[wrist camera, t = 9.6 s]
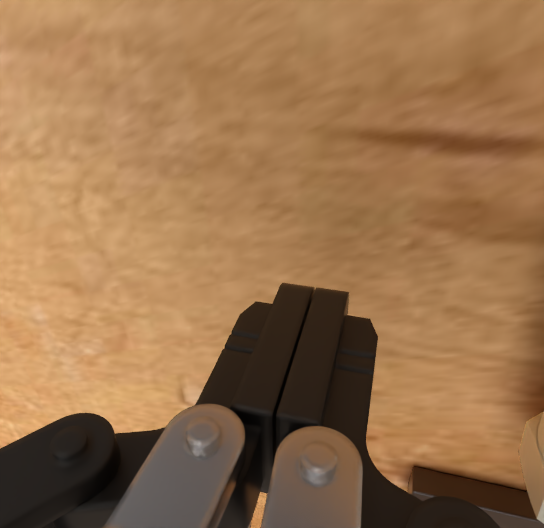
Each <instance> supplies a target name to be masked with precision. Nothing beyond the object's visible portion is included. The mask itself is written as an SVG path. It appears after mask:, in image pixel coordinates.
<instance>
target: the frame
mask: <svg viewBox="0 0 544 528" xmlns="http://www.w3.org/2000/svg"><path fill="white" fill-rule="evenodd" d="M408 493H409V494H411V495H413V496H415V497H417V498H418V499H420V500H422V501H424V500H426V499H429V498H432V497H437V496H451V497H457V498H460V499H463V500H466V501H468V502H470V503H472V504H474V505H476V506H477V507H479V508H480V509H482V510H483V511H485V512H486V513H487V514H488V515H489V516H490V517H491V518H492V519H493V520H494V521H495V522H496V523H497V524H498V525H499V527H500V528H544V524H543V523H542V522H541V521H539V520H538V519H537V518H536V515H535V513H534V510H533V507H532V504H531V502H530V498H529V495H528V492H525V491H520V490H516V489H512V488H507V487H503V486H498V485H494V484H489V483H485V482H480V481H476V480H471V479H467V478H463V477H458V476H454V475H449V474H445V473H440V472H436V471H431V470H427V469H423V468H418V467H413V469H412V472H411V476H410V480H409V483H408Z"/></svg>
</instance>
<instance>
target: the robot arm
mask: <svg viewBox="0 0 544 528" xmlns="http://www.w3.org/2000/svg"><path fill="white" fill-rule="evenodd" d="M348 304H349V292H344V291H337V290H330V289H323V288H316V289H315V288H314V287H308V286H302V285H295V284H288V283H282V284H281V285H280V287H279V290H278V292H277V294H276V297H275V299H274V302H273V304H269V303H262V302H255V303H254V304H252V305H251V306H250V307H249V308H247V309H246V310H245V311H244V312H243V313H241V314H240V316H239V318H238V320H237V322H236V324H235V326H234V328H233V330H232V334H231V335H230V336H229V338H228V340H227V342H226V344H225V348H224V349H223V350H222V352H221V354H220V356H219V358H218V360H217V362H216V365H215V367H214V369H213V371H212V373H211V375H210V377H209V379H208V381H207V383H206V385H205V387H204V389H203V391H202V393H201V395H200V397H199V399H198V401H197V403H196V404H195V406H192V407H190V408H187V409H185V410H183V411H182V412H180V413H179V414H177V415H176V416H175V417H174V418H173V419H172V420H171V421H170V422H169V424H168V425H167V426H166V427H165V428H161V429H158V430H151V431H142V432H130V433H118V434H115V433H114V430H113V428H112V426H111V424H110V423H109V422H108V421H107V420H106V419H105V418H103V417H101V416H99V415H96V414H91V413H79V414H73V415H69V416H66V417H64V418H61V419H59V420H57V421H55V422H53V423H51V424H49V425H47V426H45V427H43V428H41V429H39V430H37V431H35V432H33V433H31V434H29V435H27V436H25V437H23V438H21V439H19V440H17V441H15V442H13V443H11V444H9V445H7V446H5V447H3V448H1V449H0V528H251V520H252V517H253V513H254V510H255V507H256V503H257V500H258V497H259V493H260V492H264V493H268V494H267V499H266V504H265V509H264V514H263V519H262V524H261V528H500V527H499V525H498V524H497V523H496V522H495V521H494V520H493V519H492V518H491V517H490V516H489V515H488V514H487V513H486V512H485V511H483V510H482V509H480V508H479V507H477V506H476V505H474V504H472V503H470V502H468V501H466V500H463V499H460V498H457V497H451V496H437V497H432V498H429V499H426V500H424V501H422V500H420V499H418V498H417V497H415V496H413V495H411V494H409V493H408V492H406V491H404V490H402V489H401V488H399V487H397V486H396V485H394V484H393V483H391V482H390V481H389V480H387V479H386V478H385V477H384V476H383V475H382V474H381V473H380V472H379V471H378V470H377V468H376V467H375V465H374V464H373V462H372V460H371V458H370V456H369V454H368V451H367V446H366V432H367V424H368V416H369V407H370V399H371V390H372V382H373V373H374V365H375V357H376V348H377V340H378V336H377V334H376V332H375V329H374V327H373V325H372V323H371V320H370V319H367V318H361V317H354V316H348V315H347V314H348Z"/></svg>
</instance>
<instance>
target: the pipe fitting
mask: <svg viewBox="0 0 544 528" xmlns="http://www.w3.org/2000/svg"><path fill="white" fill-rule="evenodd" d="M518 453H519V458H520V463H521V468H522V473H523V477H524V481H525V485H526V489H527V492H528V495H529V498H530V502H531V504H532V507H533V510H534V513H535V515H536V518H537V519H538V520H539V521H541V522H542V523H543V524H544V411H543V412H542V413H540V414H538V415H536V416H535V417H533V418H531V419H529V420H527V422H526V425H525V429H524V432H523V436H522V440H521V443H520V447H519V450H518Z"/></svg>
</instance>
